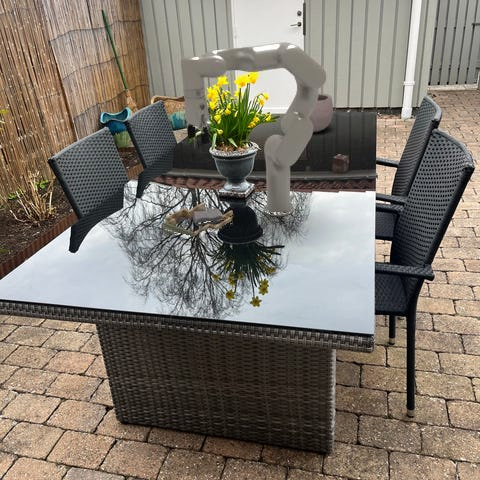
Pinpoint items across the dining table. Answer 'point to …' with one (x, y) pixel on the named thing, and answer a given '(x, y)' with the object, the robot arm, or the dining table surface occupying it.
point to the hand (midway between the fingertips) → (198, 140)
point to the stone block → (207, 216)
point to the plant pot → (322, 112)
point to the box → (340, 163)
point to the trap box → (185, 214)
